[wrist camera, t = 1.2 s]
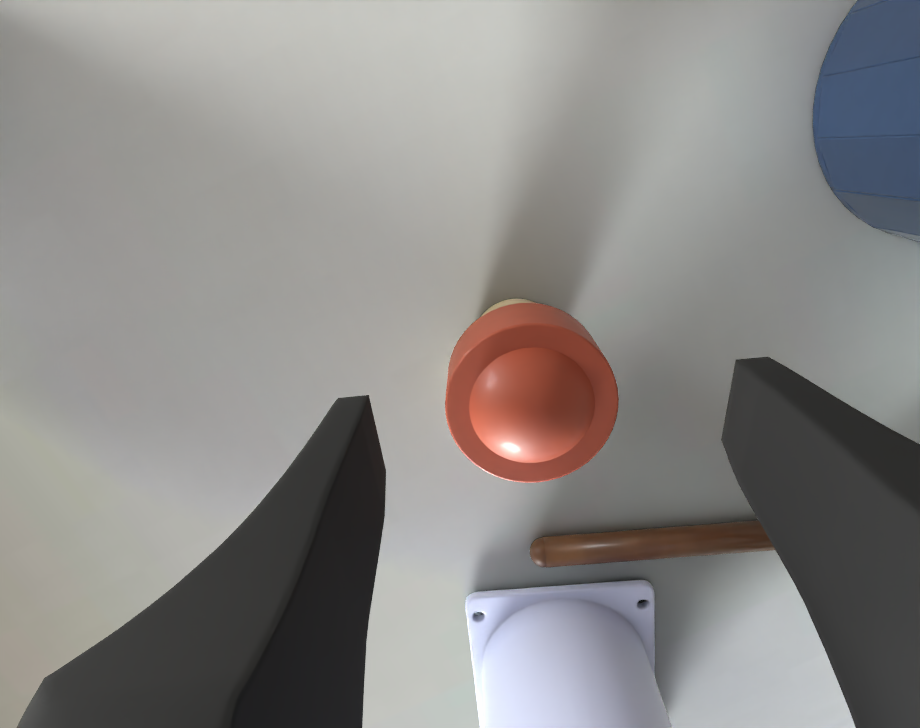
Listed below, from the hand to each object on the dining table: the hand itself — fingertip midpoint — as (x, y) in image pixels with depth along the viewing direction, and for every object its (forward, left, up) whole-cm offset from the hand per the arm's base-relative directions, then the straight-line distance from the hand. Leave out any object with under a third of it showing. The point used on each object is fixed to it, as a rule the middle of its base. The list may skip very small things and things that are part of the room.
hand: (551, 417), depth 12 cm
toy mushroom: (-2, 0, -11) cm, 11 cm away
